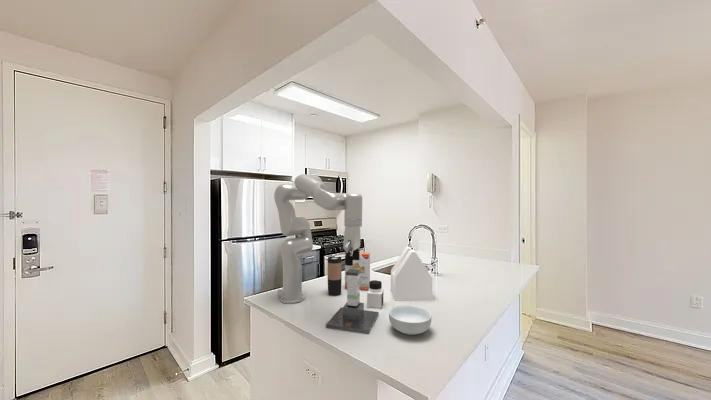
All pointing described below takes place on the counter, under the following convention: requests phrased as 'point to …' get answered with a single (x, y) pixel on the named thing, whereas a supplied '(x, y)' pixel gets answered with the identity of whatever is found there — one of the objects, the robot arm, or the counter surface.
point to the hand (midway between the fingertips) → (352, 262)
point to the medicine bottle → (375, 294)
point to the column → (353, 287)
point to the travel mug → (334, 276)
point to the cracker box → (361, 265)
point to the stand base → (353, 319)
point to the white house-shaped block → (410, 278)
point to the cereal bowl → (410, 319)
